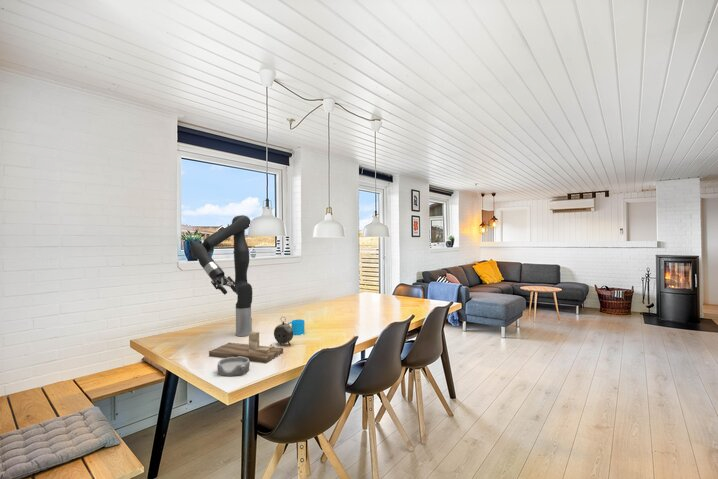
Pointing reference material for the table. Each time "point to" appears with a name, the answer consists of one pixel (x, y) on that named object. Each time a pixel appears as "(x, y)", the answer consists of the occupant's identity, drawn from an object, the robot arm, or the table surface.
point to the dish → (233, 366)
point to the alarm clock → (283, 333)
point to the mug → (297, 327)
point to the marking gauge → (257, 344)
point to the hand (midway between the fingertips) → (231, 292)
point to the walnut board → (244, 352)
